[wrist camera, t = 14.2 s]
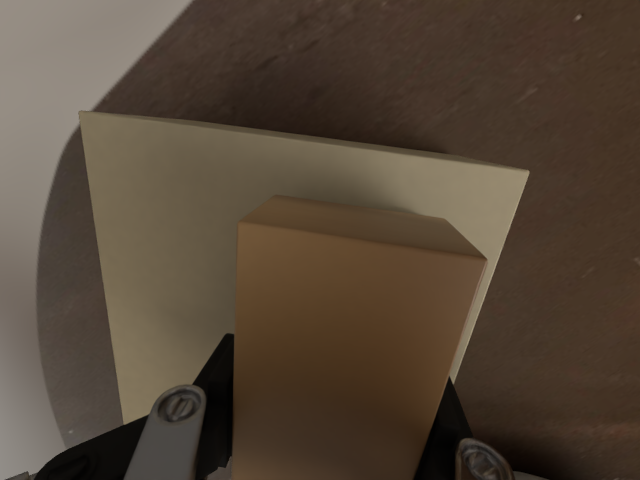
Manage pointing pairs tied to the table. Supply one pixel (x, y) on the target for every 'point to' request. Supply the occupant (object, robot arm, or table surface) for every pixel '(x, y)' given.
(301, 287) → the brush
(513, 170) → the plain beige cardboard box
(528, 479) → the table lamp
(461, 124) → the table surface
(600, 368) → the table surface
